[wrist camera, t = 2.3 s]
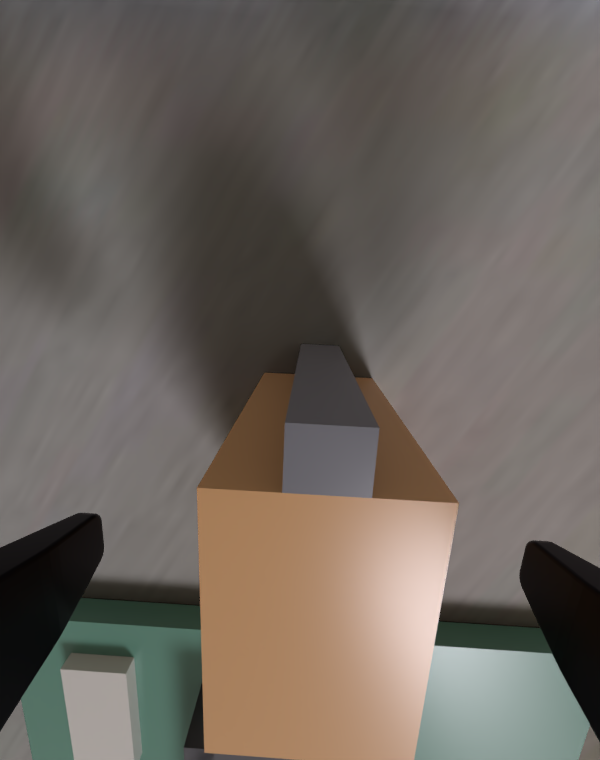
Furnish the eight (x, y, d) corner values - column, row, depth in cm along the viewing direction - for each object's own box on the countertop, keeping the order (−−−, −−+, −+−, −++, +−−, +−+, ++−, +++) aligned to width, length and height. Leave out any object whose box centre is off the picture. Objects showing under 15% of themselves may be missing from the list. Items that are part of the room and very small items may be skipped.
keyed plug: (261, 507, 13) (204, 752, 6) (265, 342, 11) (195, 417, 5) (358, 513, 13) (412, 768, 6) (375, 347, 11) (471, 433, 4)
